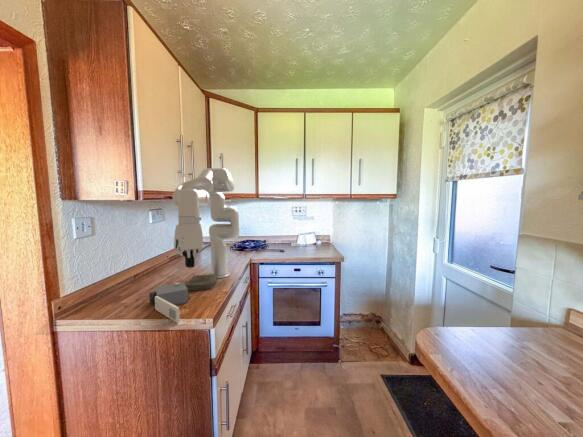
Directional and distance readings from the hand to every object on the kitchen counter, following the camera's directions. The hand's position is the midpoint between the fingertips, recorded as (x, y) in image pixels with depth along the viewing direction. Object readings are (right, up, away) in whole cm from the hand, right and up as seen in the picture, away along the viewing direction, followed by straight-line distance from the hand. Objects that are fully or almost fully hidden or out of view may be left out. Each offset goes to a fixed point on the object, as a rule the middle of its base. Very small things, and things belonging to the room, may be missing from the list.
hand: (190, 266), depth 95 cm
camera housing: (-15, -18, +13) cm, 27 cm away
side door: (-9, -19, -1) cm, 21 cm away
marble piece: (-9, -17, +34) cm, 39 cm away
